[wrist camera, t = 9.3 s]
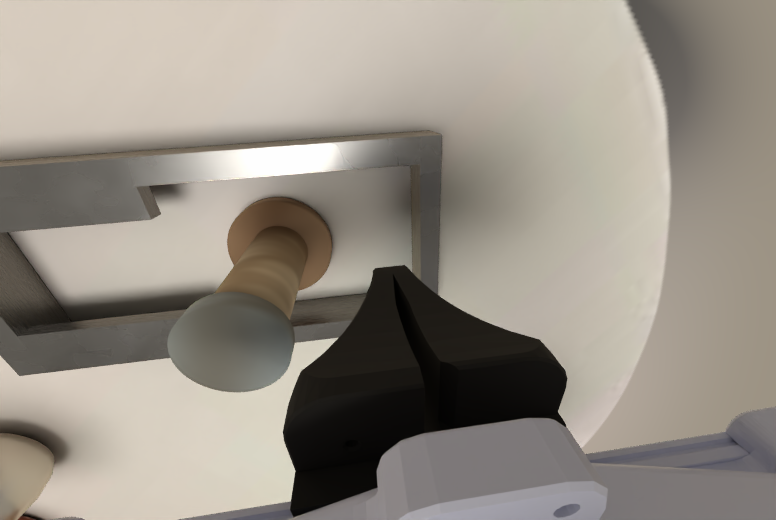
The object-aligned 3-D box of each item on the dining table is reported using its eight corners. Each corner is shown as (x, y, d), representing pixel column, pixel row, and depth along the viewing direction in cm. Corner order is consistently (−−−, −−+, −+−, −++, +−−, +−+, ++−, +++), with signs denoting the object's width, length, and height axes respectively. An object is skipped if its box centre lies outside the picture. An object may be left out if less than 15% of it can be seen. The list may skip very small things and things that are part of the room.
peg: (328, 196, 16) (308, 276, 9) (335, 281, 19) (325, 401, 11) (223, 198, 16) (101, 286, 8) (245, 285, 18) (169, 415, 11)
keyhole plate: (428, 130, 15) (442, 134, 13) (427, 301, 21) (436, 325, 18) (-78, 166, 14) (-164, 178, 11) (59, 343, 19) (19, 375, 17)
